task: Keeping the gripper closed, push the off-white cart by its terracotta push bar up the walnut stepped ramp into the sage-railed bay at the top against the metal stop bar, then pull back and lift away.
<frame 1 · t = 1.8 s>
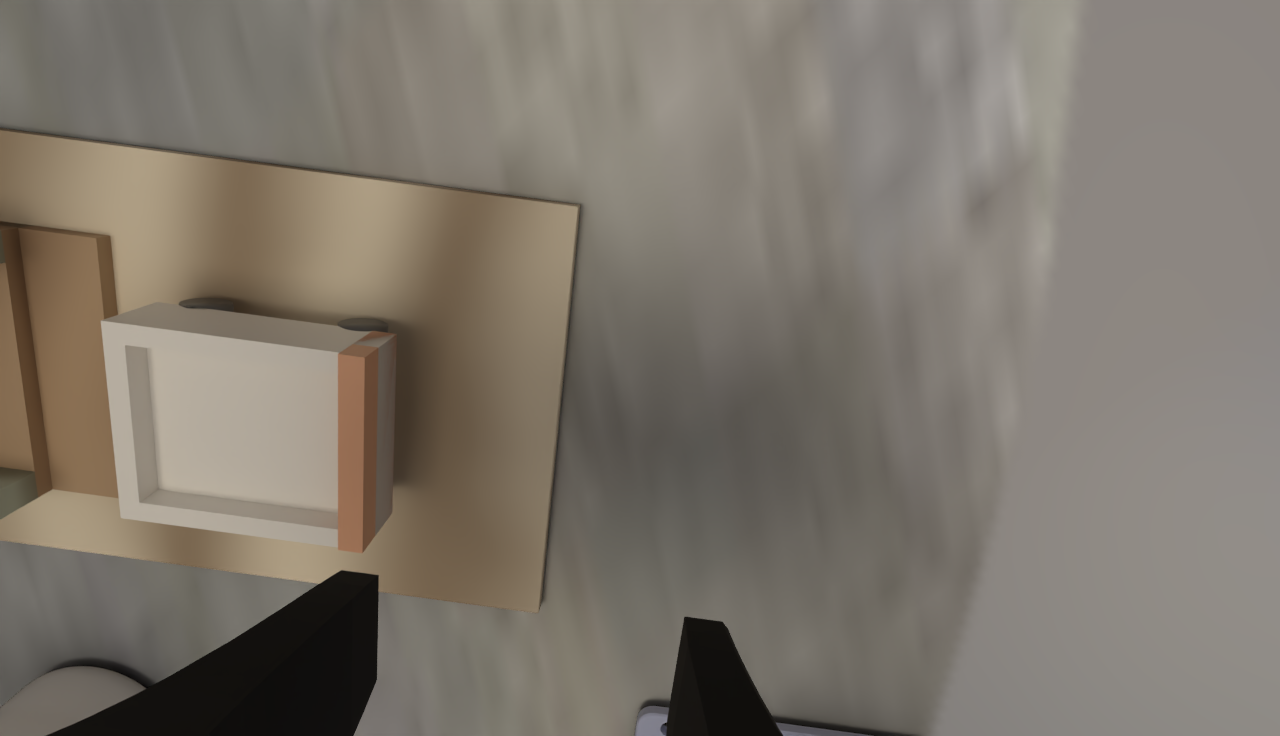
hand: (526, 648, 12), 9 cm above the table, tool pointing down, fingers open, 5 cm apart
drinking glass: (111, 718, 25), on the table
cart: (269, 418, 19), point 2 cm above the table, slide at 0.0 cm
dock: (220, 376, 21), on the table
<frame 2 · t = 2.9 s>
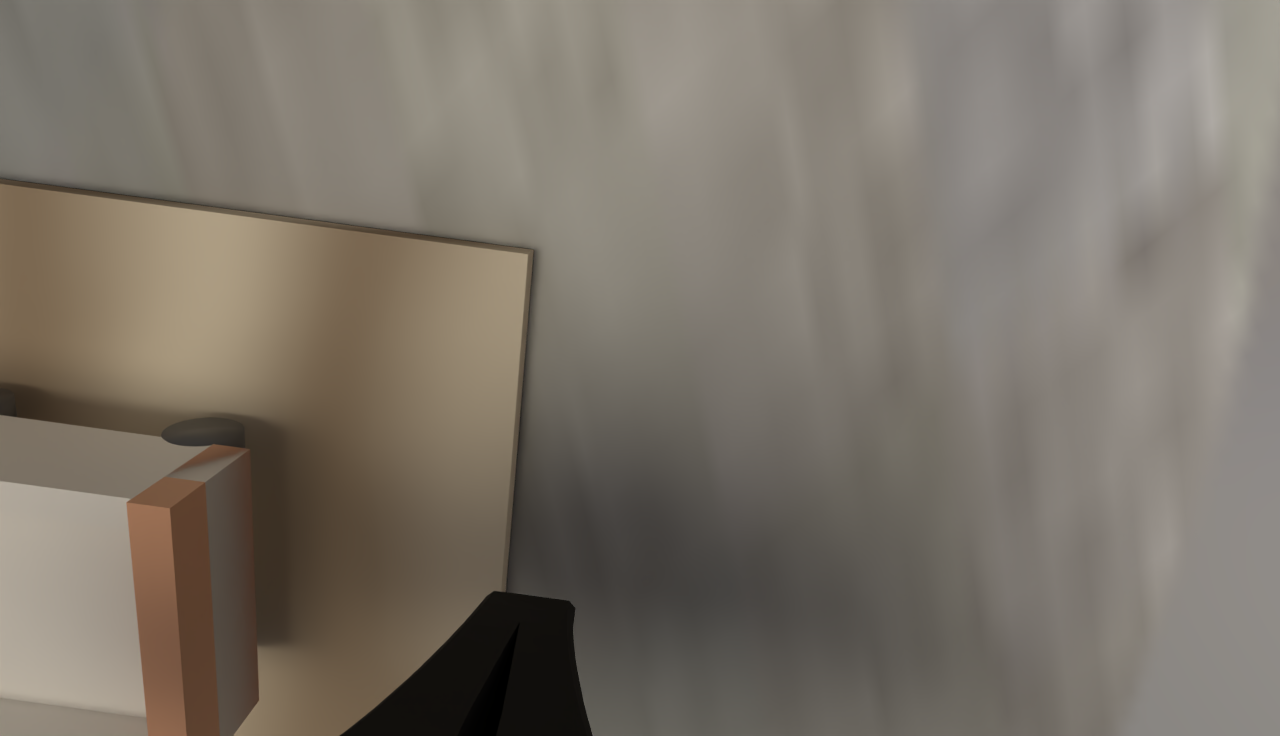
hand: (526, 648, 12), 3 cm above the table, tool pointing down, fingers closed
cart: (59, 574, 12), point 2 cm above the table, slide at 0.0 cm
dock: (21, 490, 15), on the table
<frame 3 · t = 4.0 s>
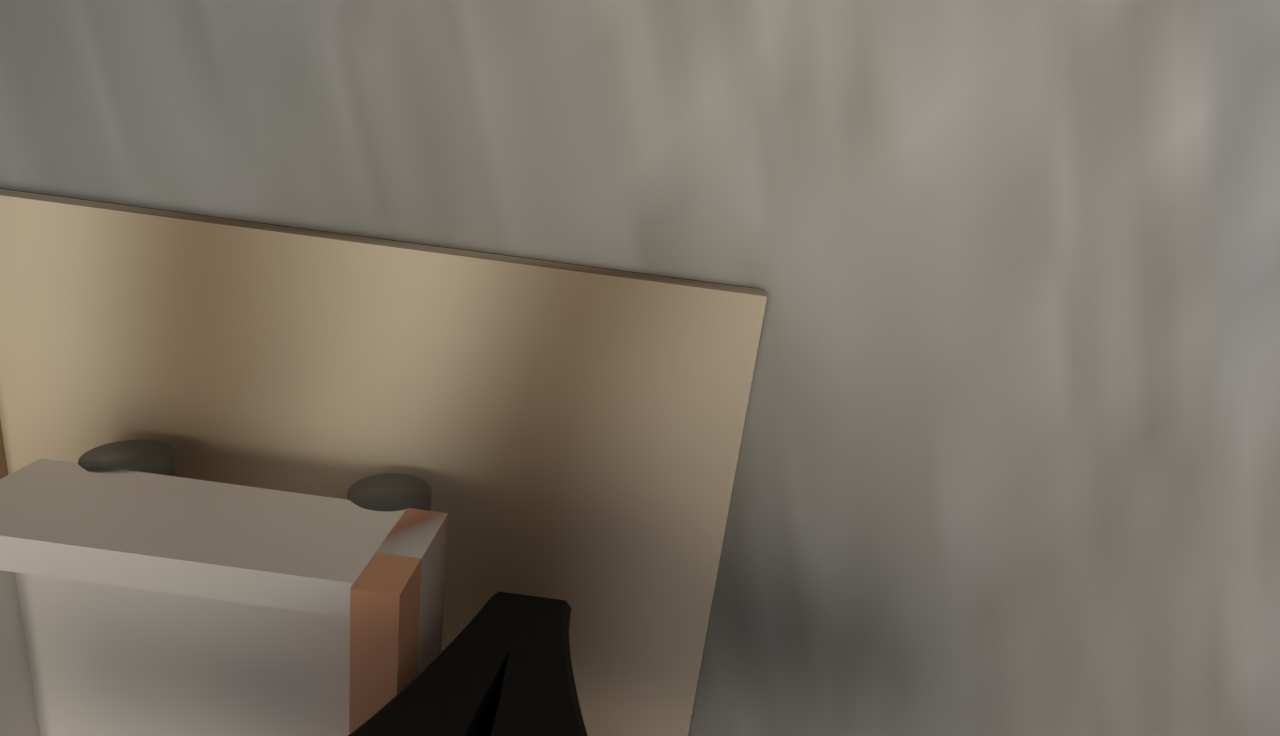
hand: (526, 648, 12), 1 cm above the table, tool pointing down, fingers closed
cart: (232, 650, 11), point 2 cm above the table, slide at 0.2 cm, touching gripper
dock: (173, 545, 13), on the table
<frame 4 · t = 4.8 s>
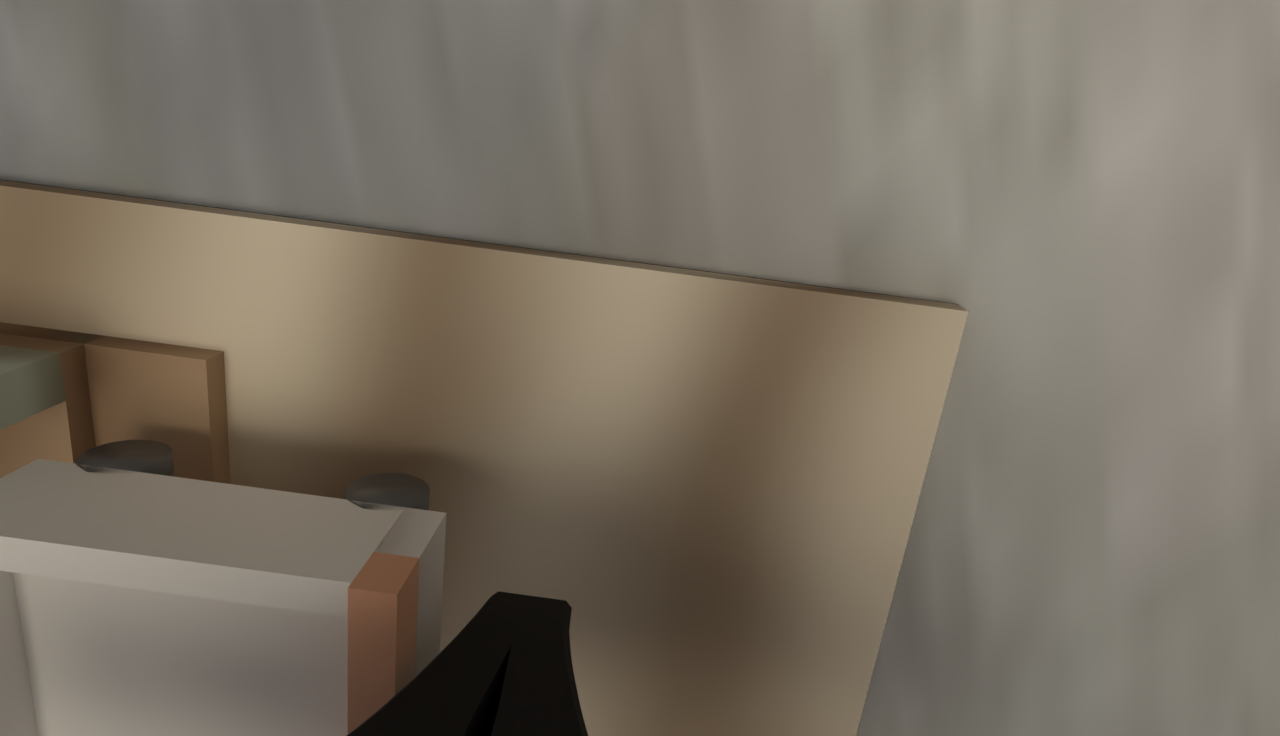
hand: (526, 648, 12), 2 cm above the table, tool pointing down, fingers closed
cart: (230, 650, 11), point 3 cm above the table, slide at 3.6 cm, touching gripper
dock: (373, 545, 14), on the table
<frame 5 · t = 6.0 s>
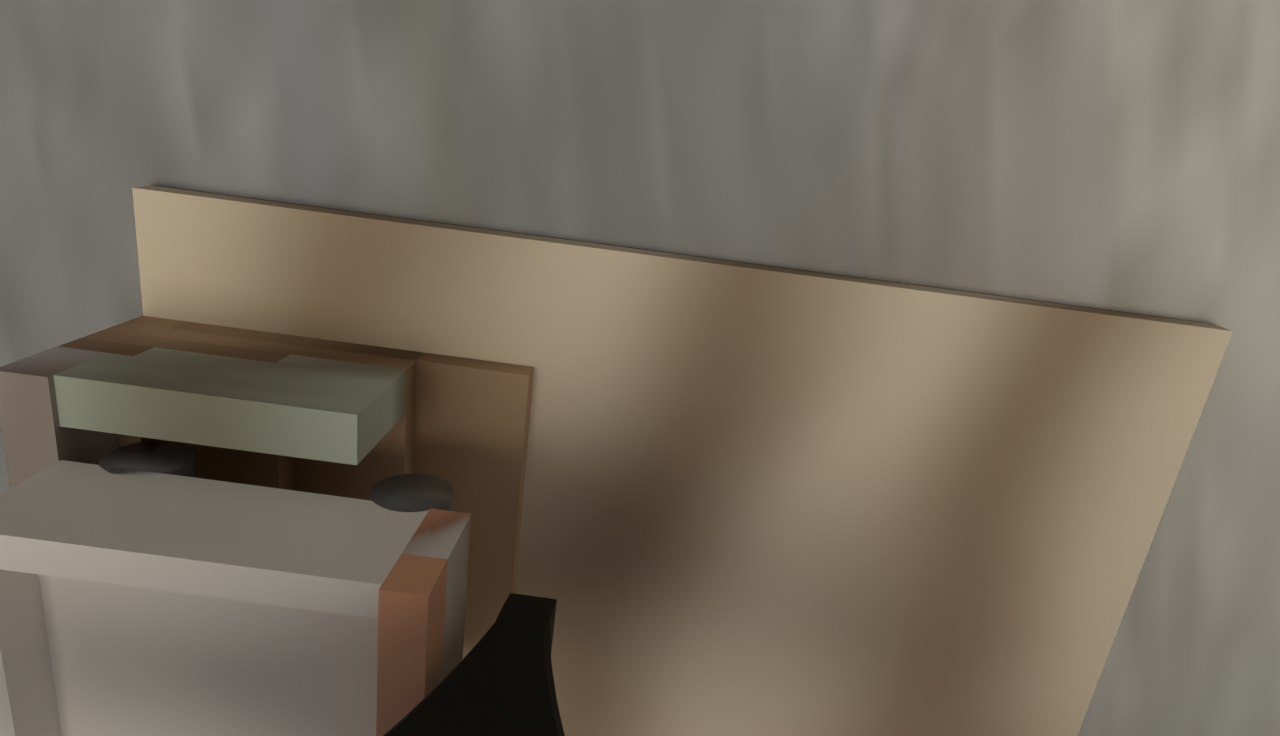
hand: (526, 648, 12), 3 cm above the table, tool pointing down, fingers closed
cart: (254, 652, 11), point 4 cm above the table, slide at 8.5 cm, touching gripper
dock: (640, 545, 15), on the table
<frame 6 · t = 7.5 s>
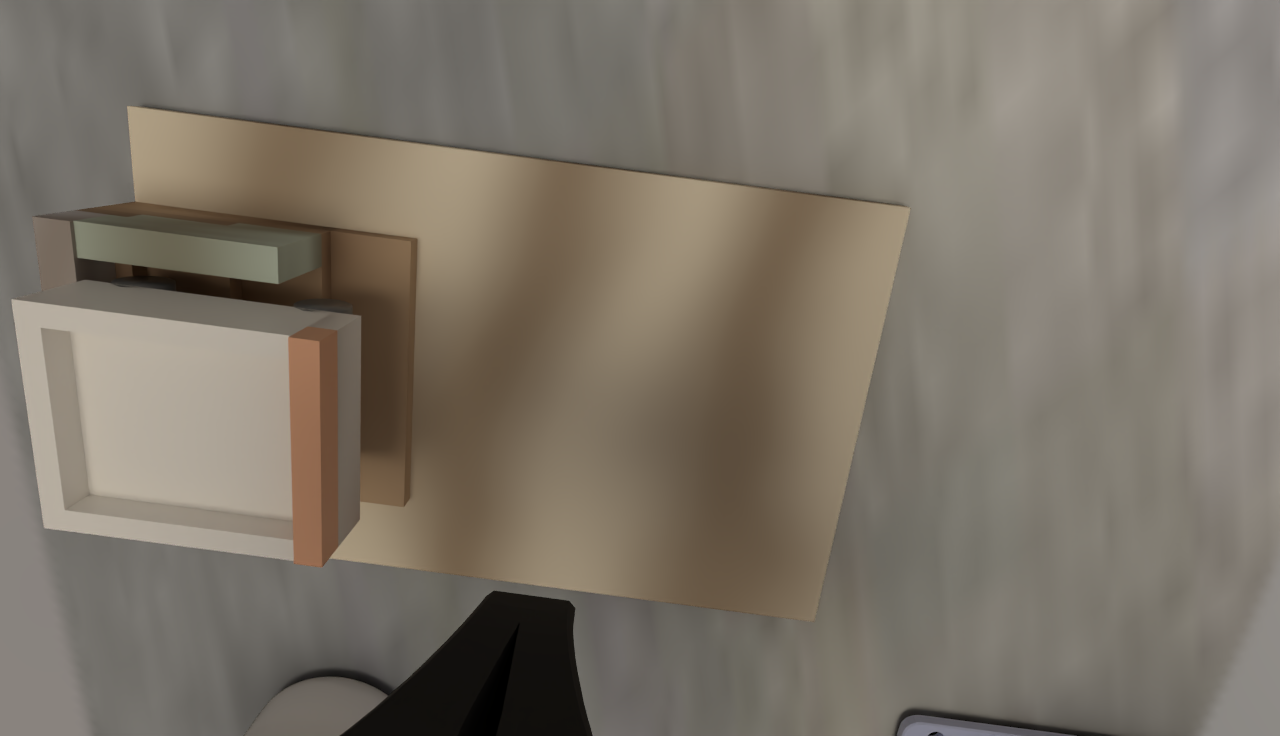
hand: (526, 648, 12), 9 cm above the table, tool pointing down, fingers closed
drinking glass: (348, 729, 25), on the table
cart: (216, 413, 16), point 4 cm above the table, slide at 8.3 cm
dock: (506, 381, 21), on the table
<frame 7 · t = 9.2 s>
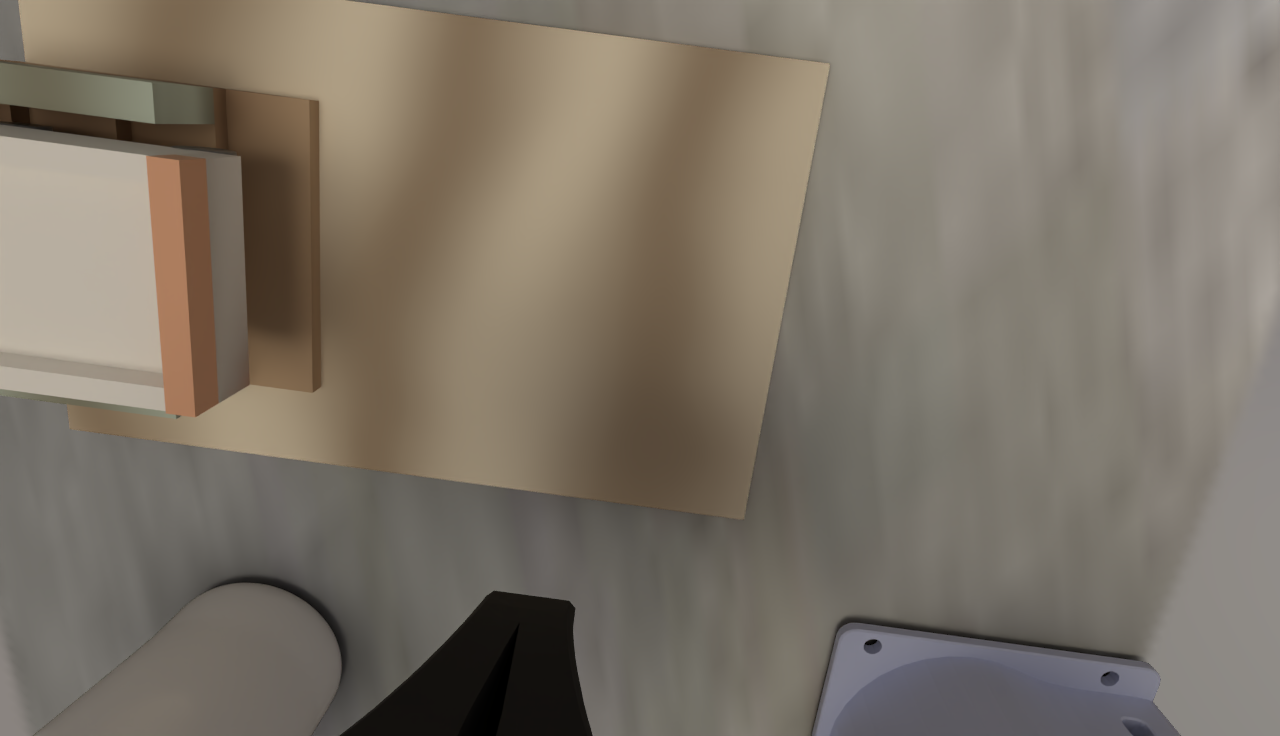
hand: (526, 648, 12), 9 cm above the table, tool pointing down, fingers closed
drinking glass: (269, 641, 24), on the table
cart: (90, 261, 16), point 4 cm above the table, slide at 8.3 cm
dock: (418, 261, 20), on the table
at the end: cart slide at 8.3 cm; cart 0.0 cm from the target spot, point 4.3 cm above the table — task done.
